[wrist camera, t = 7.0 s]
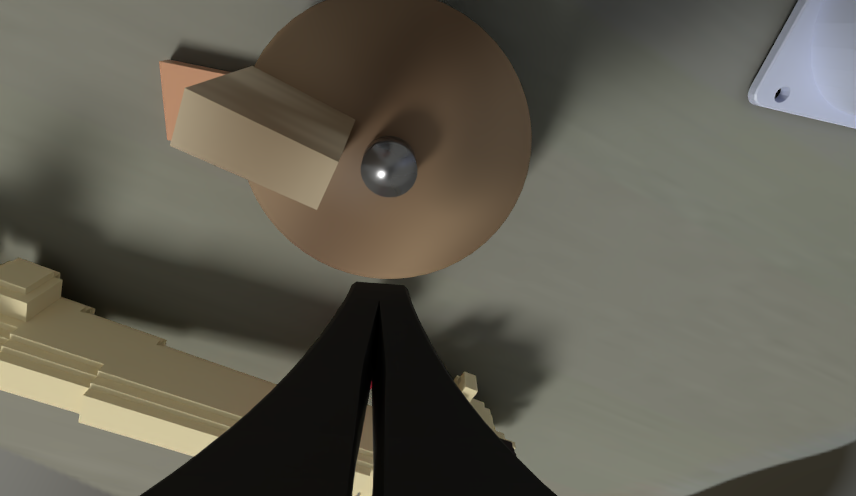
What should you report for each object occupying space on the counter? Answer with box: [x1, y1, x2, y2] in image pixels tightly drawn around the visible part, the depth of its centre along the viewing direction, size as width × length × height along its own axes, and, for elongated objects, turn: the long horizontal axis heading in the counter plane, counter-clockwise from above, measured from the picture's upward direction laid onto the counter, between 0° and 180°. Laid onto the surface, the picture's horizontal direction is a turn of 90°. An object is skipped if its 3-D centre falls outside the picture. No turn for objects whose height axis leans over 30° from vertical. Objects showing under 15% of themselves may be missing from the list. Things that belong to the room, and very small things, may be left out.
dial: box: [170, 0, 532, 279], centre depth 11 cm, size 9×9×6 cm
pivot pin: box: [361, 136, 417, 197], centre depth 12 cm, size 2×2×1 cm
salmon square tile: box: [159, 60, 232, 140], centre depth 13 cm, size 2×2×1 cm
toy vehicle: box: [0, 258, 516, 496], centre depth 16 cm, size 10×9×25 cm
